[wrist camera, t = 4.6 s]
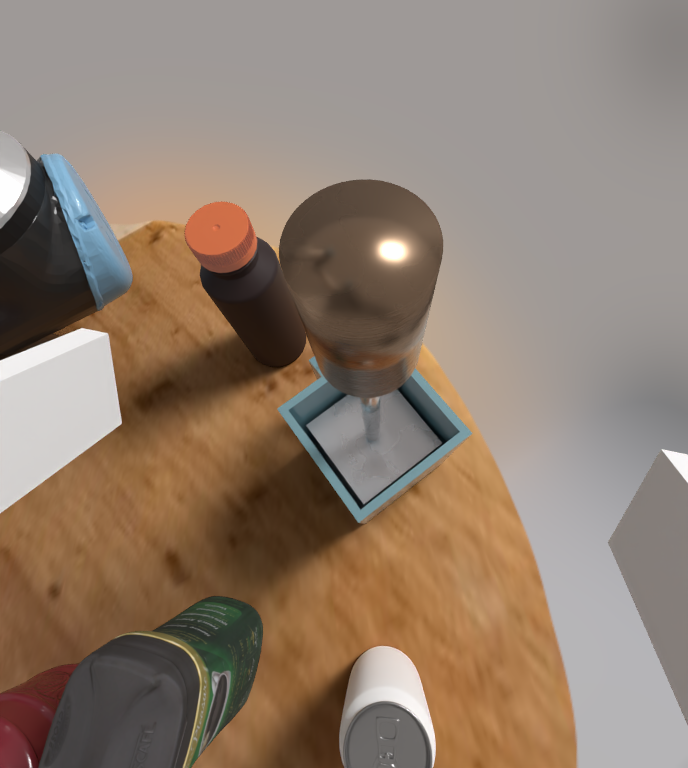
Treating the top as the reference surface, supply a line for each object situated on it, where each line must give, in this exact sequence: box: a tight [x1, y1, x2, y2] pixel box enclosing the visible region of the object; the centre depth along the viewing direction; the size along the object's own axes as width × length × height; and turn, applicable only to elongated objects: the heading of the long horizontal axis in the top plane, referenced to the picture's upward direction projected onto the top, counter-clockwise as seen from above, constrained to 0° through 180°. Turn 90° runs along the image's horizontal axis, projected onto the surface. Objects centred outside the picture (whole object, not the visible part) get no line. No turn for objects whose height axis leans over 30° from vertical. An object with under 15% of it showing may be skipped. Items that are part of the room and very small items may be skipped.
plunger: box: [279, 180, 443, 505], centre depth 23 cm, size 8×8×25 cm
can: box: [339, 646, 436, 768], centre depth 32 cm, size 6×6×12 cm
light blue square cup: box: [278, 356, 472, 524], centre depth 38 cm, size 13×10×15 cm
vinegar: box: [184, 202, 306, 367], centre depth 40 cm, size 7×7×20 cm
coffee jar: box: [38, 596, 263, 768], centre depth 31 cm, size 10×8×19 cm
